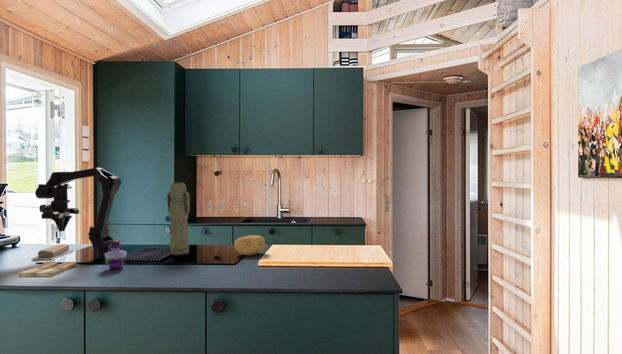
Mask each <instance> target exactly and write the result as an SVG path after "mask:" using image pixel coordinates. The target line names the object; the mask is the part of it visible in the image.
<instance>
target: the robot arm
mask: <svg viewBox="0 0 622 354" xmlns="http://www.w3.org/2000/svg"><path fill="white" fill-rule="evenodd" d="M49 177H50V178H49V179H48V180H47V181H46V183H45V184H44V183H43V184H38V187H37V188H36V190H35V192H34V193H35V196H36V198H37V199H52V200H51V201H50V204H48V205H46V204H41V205H39V212H40V213H42V214H41V219H45V220H46V219H50V220H51V221H54V223H55V225H56V228H57V230H58V232H60V233H61V232H65V230H66V228H67V226H68V224H69V222H70V221H71V218H72V217H73V215H78V214H80V210H79V208H78V207H69V203H71V200H70V199H68V197H69V196H68V190H69V189H72V188H73V187H72V186H71V185H70V184H69V183H71V182H72V181H75V180H81V179H85V178H86V179H87V178H92V177H94V178H95V179H96V180H97V181H98V183H100V184H101V191H102V197H101V201H100V204H99V209H98V210H99V211H98V214H97V218H96V222H95V224H94V225H91V226H90V227H89V230H88V233H87V236H88V240H89V241H90V243H91V246H92V248H94V249H93V255H94V257H93V261H105V259H106V258H105V255H104V254H105V253H107V252H110V251H112V248H110V244H111V241H115V240H114V239H113V238H112V236H110V235H109V231H110V230H109V227H108V223H109V220H110V215H111V211H112V206H113V203H114V198H115V196H116V194H117V192H118V191H119V189H120V187H121V186H122V179H121V178H120V177H119V176H117V175H115V174H112V173H110V172H108V171H106V170H105V168H102V167H101V166H99V167H92V168H86V169H81V170H75V171H53V172H52V173H51V175H50V176H49ZM70 214H71V215H70ZM72 214H73V215H72Z"/></svg>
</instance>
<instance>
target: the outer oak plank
mask: <svg viewBox="0 0 622 354" xmlns="http://www.w3.org/2000/svg"><path fill="white" fill-rule="evenodd" d="M58 265H60V264H59V261H46V262H43V263H42V264H39V265H37V266H34V267H33V266H32V268H53V267H55V266H58Z"/></svg>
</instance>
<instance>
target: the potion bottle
mask: <svg viewBox="0 0 622 354" xmlns="http://www.w3.org/2000/svg"><path fill="white" fill-rule="evenodd" d="M121 247H122V243H120V240H114V241H111V244H110V248H111V251H110V252H107V253H105V254H104V255H105V258H106V259H105V260H104V261H105V264H106V265H107V266H108V270H109V271H120V270H122V269H124V264H125V260H126V257H127V253H128V251H126V250H121V249H120V248H121Z"/></svg>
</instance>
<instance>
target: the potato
mask: <svg viewBox="0 0 622 354" xmlns="http://www.w3.org/2000/svg"><path fill="white" fill-rule="evenodd" d="M265 241H266V240H265V238H264V237H263V236H261V235H255V234H254V235H252V234H251V235H250V234H249V235H246V236H241V237H238V238H237V239H236V240H235V241H234V244H233V247H234V249H235V251H237V252H238V253H239V254H240V255H244V256H253V255H257V254H259V253H261V252H262V251H263V250H265V247H266V242H265Z"/></svg>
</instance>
